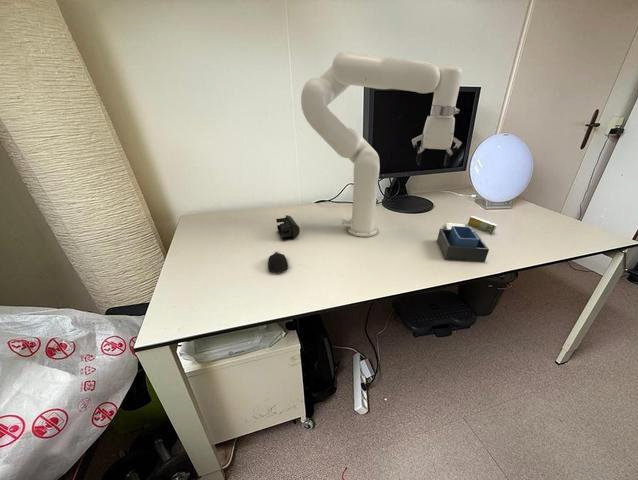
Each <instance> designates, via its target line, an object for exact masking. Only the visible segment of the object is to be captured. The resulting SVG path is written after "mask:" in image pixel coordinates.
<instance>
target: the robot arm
mask: <svg viewBox="0 0 638 480" xmlns="http://www.w3.org/2000/svg"><path fill="white" fill-rule="evenodd" d="M462 77H463V68H462V67H461V66H455V65H444V66H441V67H438V65H436V64H434V63H432V62H427V61H423V60H422V61H421V60H414V59H406V58H396V57H392V56H383V55H376V54H368V53H361V52H355V51H345V50H343V51H339V52H338V53H337V54H336V55H335V56H334V58H333V60H332V64H331V66H330V67H329V68H328V69H327V70H326V71H324V73H323V74H321V75H320V76H319V77H312V78H309V79H308V80H306V82H305V83H304V85H303V87H302V90H301V95H300V104H301V105H300V106H301V110H302V113H303V116H304V118H305V120H306V121H307V123H308V124H309V126H310V127H311V128H312V129H313V130H314V131H315V132H316V133H317V134H318V135H319V136H320V137H321V138H322V139H323V141H324V142H326V143H327V144H328V146H329V147H330V148H331V149H332V150H333V151H334V152H335V153H336V154H337V155H338V156H339V157H341V158H343V159H348V160H349V161H351V163H353V185H352V186H353V189H352V210H351V211H352V213H351V219H348V220H347V219H341V225H343V227H347V231H348V233H349V234H350V235H352V236H356V237H362V238H366V237H372V236H374V235H376V234H378V227H377V226H376V225H375V220H376V219H375V218H376V210H377V209H376V208H377V199H378V198H377V197H378V186H379V177H380V169H381V166H380V165H381V164H380V163H381V162H380V156H379V154H378V152H377V151H376V150H375V149H374V147H372V146H371V144H369V142H368V141H366V139H365V138H364V137H363V136H362V135H361V134H360V133H359V132H358V131H357V130H356V129H355V128H352V127H347V126H346V125H345V124H344V123H343V122H342V121H341V120H340V118H338V117H337V115H336V114H335V113H333V112H332V111H331V109H330V108H329V107H328V106H329V105H330V104H331V103H333V101H335V99H337V98H338V97H339V96H341V94H343V93H344V92H345V91H346V90H347V89H348V88H349V87H350V86H354V87H355V86H357V87H362V88H363V87H364V88H370V89H376V90H399V91H400V90H401V91H407V92H415V93H418V94H429V93H433V98H432V104H431V109H430V115H427V117H426V120H425V123H424V127H423V131H422V134H420V135H418V136H416V137H414V138H412V139H411V143H412V146H413V148H414V149H415V150H414V151H416V152H417V155H416V161H415V162H416V164H417V166H421V164H422V160H423V159H422V158H423V152H424V151H425V150H426V149H430V150H445V151H446V153H445V155H444V160H443V163H442V165H443V167H444V168H448V165H449V164H450V161H451V157H452V155H453V154H455V152H457V151H458V149H459V148H460V147H461V146H462V144H463V142H462V141H460V140H459V139H458V138H457V137H455V136H454V134H455V133H454V132H455V124H456V118H455V115H456V114H459V112H460V108H457V107H456V105H457V100H458V97H459V91H460V87H461V82H462ZM419 141H420V147H419V145H418V143H417V142H419ZM453 143H455V144H454V146H453V147H452V144H453ZM451 147H452V148H451Z"/></svg>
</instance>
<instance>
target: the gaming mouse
mask: <svg viewBox="0 0 638 480" xmlns="http://www.w3.org/2000/svg"><path fill="white" fill-rule="evenodd" d="M267 267H268V271H269V272H270V273H274V274H282V273H284V272H286V271H287V270H288V269H289V263H288V259H287V258H286V255H285V254H284V253H280V252H278V251H275V252H274V253H272V254H271V255H269V257H268V261H267Z"/></svg>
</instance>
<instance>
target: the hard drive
mask: <svg viewBox="0 0 638 480" xmlns="http://www.w3.org/2000/svg"><path fill="white" fill-rule="evenodd" d="M444 226H445V229H451V227H452V226H462V227H466V225H465V224H464V223H454V222H445V224H444Z"/></svg>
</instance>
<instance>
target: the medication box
mask: <svg viewBox="0 0 638 480" xmlns="http://www.w3.org/2000/svg"><path fill="white" fill-rule="evenodd" d="M467 225H468V226H469V227H473V228H474V229H475V228H476V229H478V230H480V231H483V232H486V233H488V234H490V235H493V234H495V232H496V230H497V227H498V224H495V223H493V222H490V221H488V220H485V219H482V218H479V217H477V216H473V215H472V216H469V219H468V222H467Z"/></svg>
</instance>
